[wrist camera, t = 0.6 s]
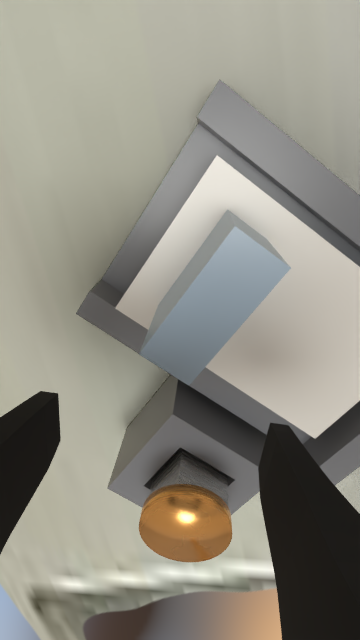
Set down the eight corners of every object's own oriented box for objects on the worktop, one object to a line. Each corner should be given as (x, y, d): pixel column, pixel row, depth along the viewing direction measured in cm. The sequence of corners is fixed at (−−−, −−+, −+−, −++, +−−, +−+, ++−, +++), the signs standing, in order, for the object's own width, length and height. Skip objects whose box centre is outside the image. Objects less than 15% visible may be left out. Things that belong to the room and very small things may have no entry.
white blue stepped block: (403, 304, 18) (530, 392, 11) (300, 400, 20) (347, 520, 13) (215, 158, 16) (219, 147, 9) (130, 286, 19) (80, 357, 11)
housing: (457, 290, 18) (538, 330, 14) (232, 490, 26) (237, 559, 21) (218, 95, 16) (221, 64, 11) (42, 378, 23) (0, 429, 18)
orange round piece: (243, 457, 20) (251, 528, 16) (198, 499, 21) (195, 573, 17) (180, 419, 19) (172, 484, 15) (138, 465, 21) (122, 534, 17)
